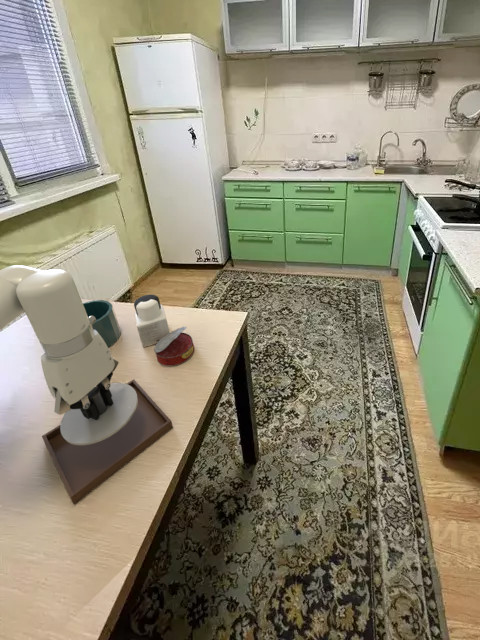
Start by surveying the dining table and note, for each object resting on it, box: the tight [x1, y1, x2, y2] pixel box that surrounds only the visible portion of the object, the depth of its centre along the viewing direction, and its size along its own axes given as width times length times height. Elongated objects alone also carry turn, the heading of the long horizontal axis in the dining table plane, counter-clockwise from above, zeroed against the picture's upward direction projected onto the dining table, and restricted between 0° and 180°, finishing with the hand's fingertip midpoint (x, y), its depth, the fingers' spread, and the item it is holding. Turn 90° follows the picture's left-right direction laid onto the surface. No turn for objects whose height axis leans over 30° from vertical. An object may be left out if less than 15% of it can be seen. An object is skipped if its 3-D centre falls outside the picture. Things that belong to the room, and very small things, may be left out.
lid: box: [59, 382, 138, 445], centre depth 63 cm, size 14×14×6 cm
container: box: [133, 294, 171, 348], centre depth 93 cm, size 8×8×13 cm
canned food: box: [153, 326, 195, 367], centre depth 87 cm, size 11×10×10 cm
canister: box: [82, 299, 122, 348], centre depth 93 cm, size 13×13×10 cm
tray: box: [41, 379, 174, 505], centre depth 67 cm, size 19×17×2 cm
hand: (99, 409), depth 64 cm, fingers closed on lid, 2 cm apart
